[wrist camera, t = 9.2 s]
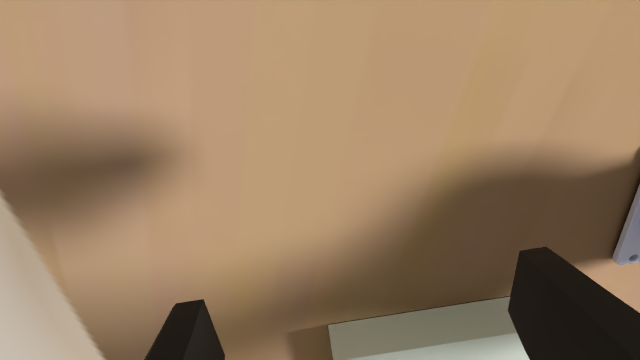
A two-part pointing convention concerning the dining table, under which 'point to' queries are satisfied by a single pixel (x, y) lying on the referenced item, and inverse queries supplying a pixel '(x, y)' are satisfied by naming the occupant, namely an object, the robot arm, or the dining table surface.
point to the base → (432, 335)
